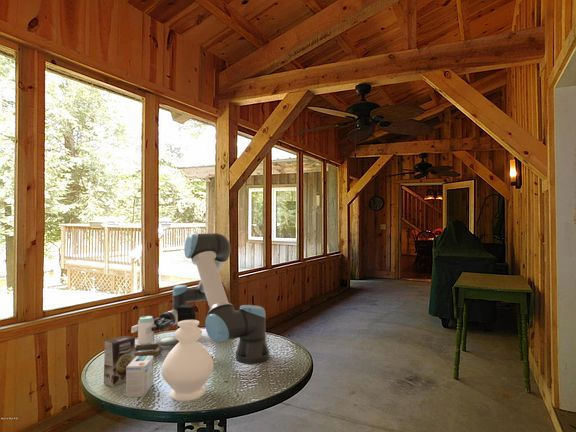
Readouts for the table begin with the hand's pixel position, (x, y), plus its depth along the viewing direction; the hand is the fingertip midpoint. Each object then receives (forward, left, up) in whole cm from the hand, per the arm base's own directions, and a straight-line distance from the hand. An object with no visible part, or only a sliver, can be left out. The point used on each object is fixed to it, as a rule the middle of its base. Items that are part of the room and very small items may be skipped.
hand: (138, 330), depth 170 cm
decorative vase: (-44, -24, -12) cm, 51 cm away
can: (+4, -3, -7) cm, 9 cm away
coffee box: (-28, +2, -12) cm, 30 cm away
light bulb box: (-38, -7, -12) cm, 40 cm away
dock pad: (+18, -12, -11) cm, 24 cm away
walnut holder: (+4, -3, -11) cm, 12 cm away
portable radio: (-4, -22, -12) cm, 25 cm away
